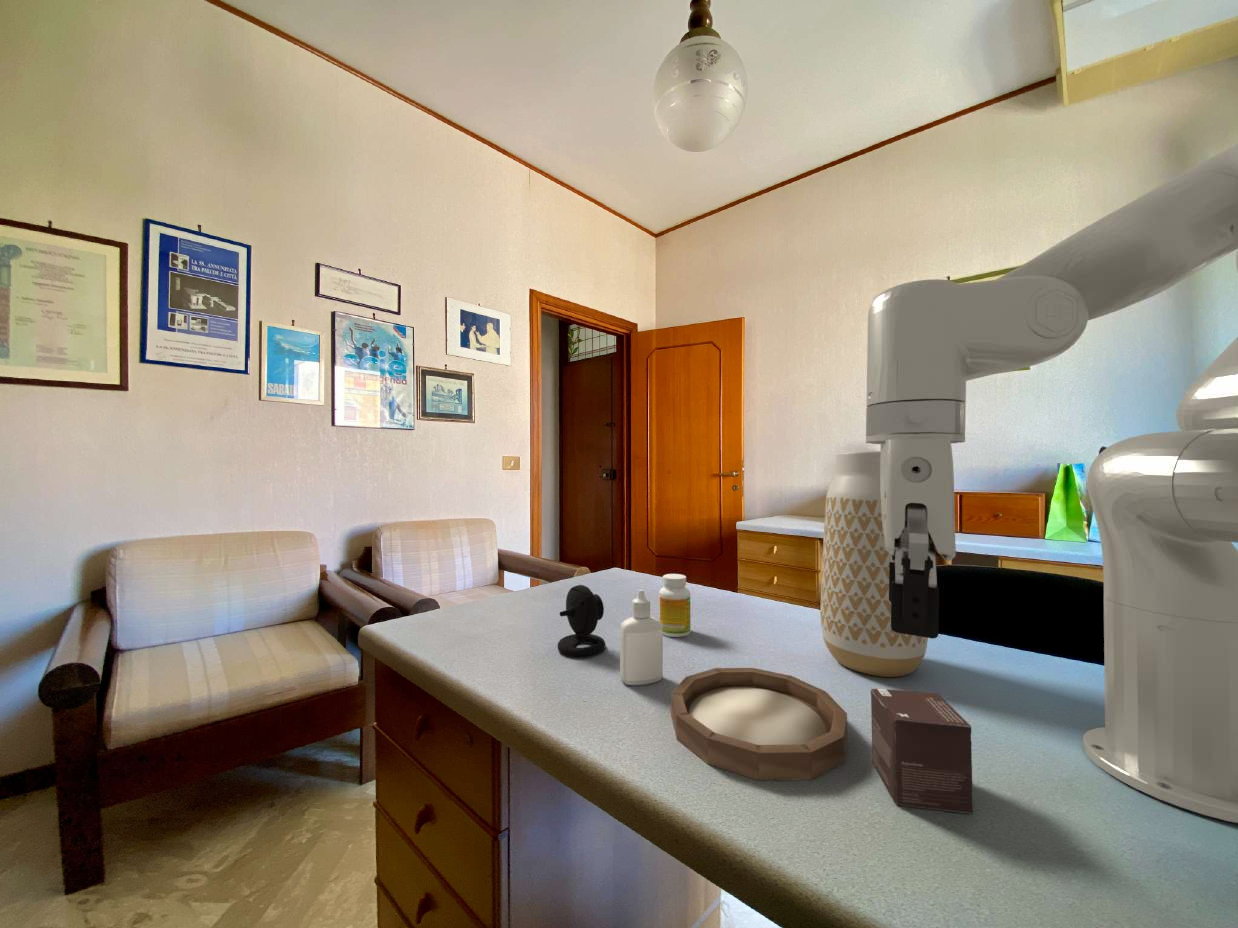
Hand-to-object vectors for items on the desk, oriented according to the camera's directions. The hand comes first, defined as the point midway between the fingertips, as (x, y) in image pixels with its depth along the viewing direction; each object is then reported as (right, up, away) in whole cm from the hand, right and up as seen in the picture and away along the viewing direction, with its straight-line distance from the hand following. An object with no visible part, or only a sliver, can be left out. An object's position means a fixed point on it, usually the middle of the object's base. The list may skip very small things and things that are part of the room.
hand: (910, 617), depth 42 cm
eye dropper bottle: (-23, -16, +21) cm, 35 cm away
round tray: (-11, -15, +10) cm, 21 cm away
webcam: (-32, -16, +32) cm, 48 cm away
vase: (+11, -15, +26) cm, 32 cm away
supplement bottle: (-16, -16, +39) cm, 45 cm away
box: (+1, -15, 0) cm, 15 cm away
